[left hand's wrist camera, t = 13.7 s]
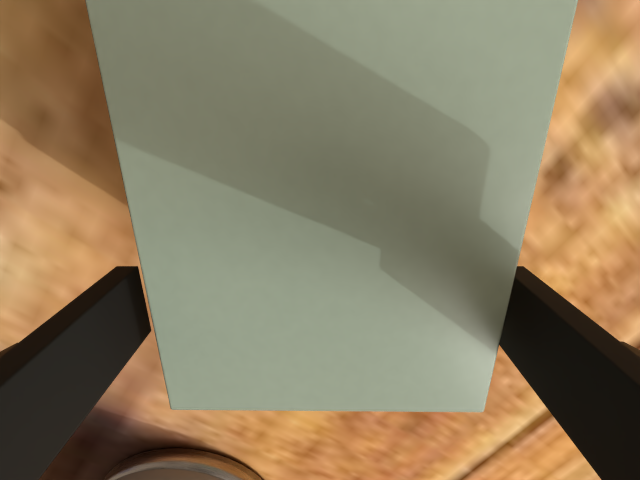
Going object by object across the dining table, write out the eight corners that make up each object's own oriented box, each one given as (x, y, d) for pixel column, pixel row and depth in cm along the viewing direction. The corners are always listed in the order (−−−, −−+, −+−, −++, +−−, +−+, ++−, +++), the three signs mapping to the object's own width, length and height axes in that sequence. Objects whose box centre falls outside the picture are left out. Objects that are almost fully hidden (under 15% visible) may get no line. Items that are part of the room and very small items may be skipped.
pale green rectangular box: (197, -126, 14) (-31, -544, 5) (458, -128, 14) (708, -557, 5) (237, 277, 21) (169, 410, 12) (414, 278, 21) (484, 413, 12)
